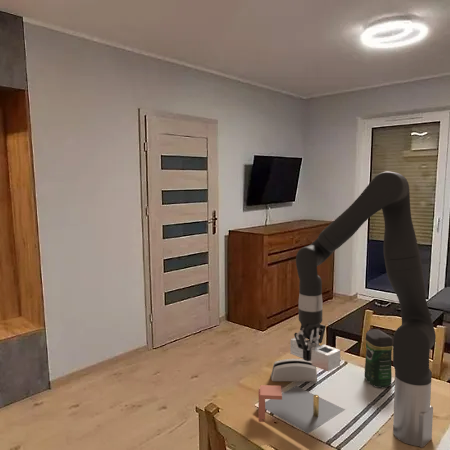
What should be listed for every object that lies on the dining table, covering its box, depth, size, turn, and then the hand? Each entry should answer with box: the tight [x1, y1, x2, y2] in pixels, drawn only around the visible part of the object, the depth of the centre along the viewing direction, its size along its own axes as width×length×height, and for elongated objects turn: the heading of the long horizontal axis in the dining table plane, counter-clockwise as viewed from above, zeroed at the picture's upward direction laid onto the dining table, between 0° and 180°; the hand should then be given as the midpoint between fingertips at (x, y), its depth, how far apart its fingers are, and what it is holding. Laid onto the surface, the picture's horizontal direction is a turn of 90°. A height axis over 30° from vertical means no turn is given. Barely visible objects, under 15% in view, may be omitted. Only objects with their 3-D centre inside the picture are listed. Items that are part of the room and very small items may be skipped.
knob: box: [313, 394, 320, 417], centre depth 122 cm, size 2×2×7 cm
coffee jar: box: [364, 328, 394, 388], centre depth 143 cm, size 10×8×19 cm
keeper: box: [258, 384, 283, 423], centre depth 123 cm, size 7×6×8 cm
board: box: [265, 385, 346, 434], centre depth 127 cm, size 20×18×1 cm
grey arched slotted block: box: [270, 358, 318, 382], centre depth 145 cm, size 17×5×10 cm, turn 89°
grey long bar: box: [289, 337, 341, 372], centre depth 129 cm, size 16×6×5 cm, turn 40°
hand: (310, 358), depth 130 cm, fingers closed on grey long bar, 3 cm apart
